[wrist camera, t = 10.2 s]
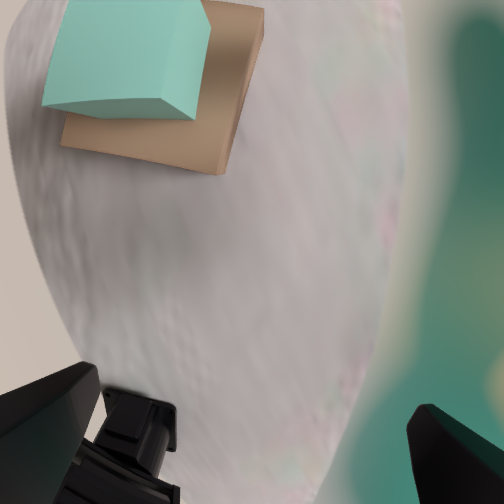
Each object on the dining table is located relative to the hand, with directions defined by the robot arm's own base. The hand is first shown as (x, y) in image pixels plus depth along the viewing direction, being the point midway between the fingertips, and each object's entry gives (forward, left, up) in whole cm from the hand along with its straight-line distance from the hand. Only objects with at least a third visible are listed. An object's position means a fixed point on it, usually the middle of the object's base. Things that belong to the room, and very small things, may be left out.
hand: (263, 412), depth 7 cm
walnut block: (+10, +7, -12) cm, 17 cm away
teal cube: (+10, +7, -8) cm, 15 cm away
